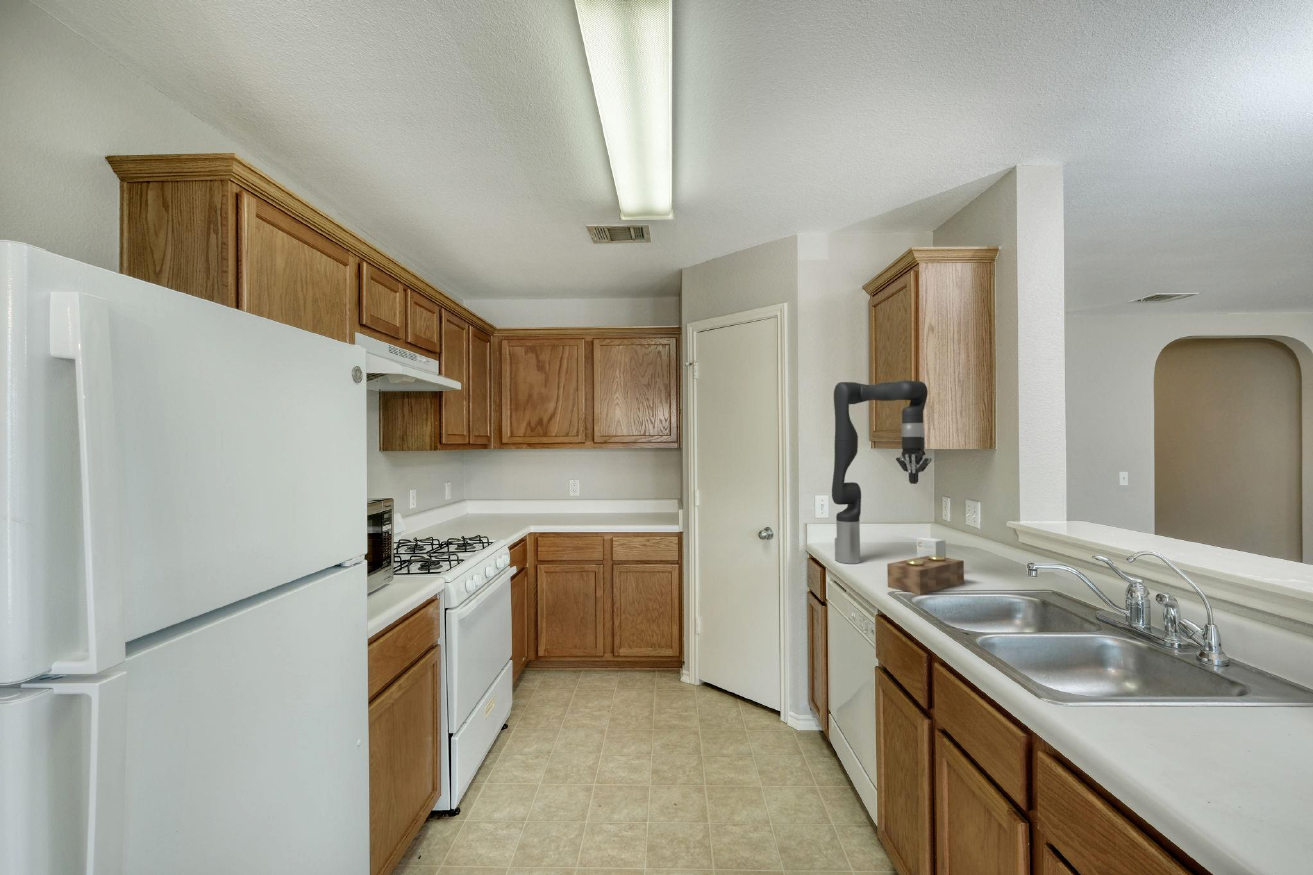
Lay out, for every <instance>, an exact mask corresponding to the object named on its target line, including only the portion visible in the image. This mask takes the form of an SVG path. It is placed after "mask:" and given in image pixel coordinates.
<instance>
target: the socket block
mask: <svg viewBox="0 0 1313 875" xmlns="http://www.w3.org/2000/svg"><path fill="white" fill-rule="evenodd" d="M929 556H931V555H929ZM929 556H924V557H919V558H917V557H915V558H914V557H913V558H910V559H905V560H904V559H903V560H901V561H895V562H891V563H887V564H886V565H887V572H886V573H887V588H891V589H895V590H898V591H903V592H906V593H911V594H915V595H919V596H921V595H926V594H930V593H933V592H936V591H941V590H944V589H945V590H946V589H947V588H948V589H949V588H952V587H955V586H960V585H963V584H965V571H964V570H965V567H964V566H965V565H964V564H965V562H964V560H960V559H955V558H951V557H946V558H945V560H944V561H941V562H937V561H932V560H930V559H929ZM907 560H920V561H923V565H920V566H918V567H916V566H911V565H909V564H907Z"/></svg>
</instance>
